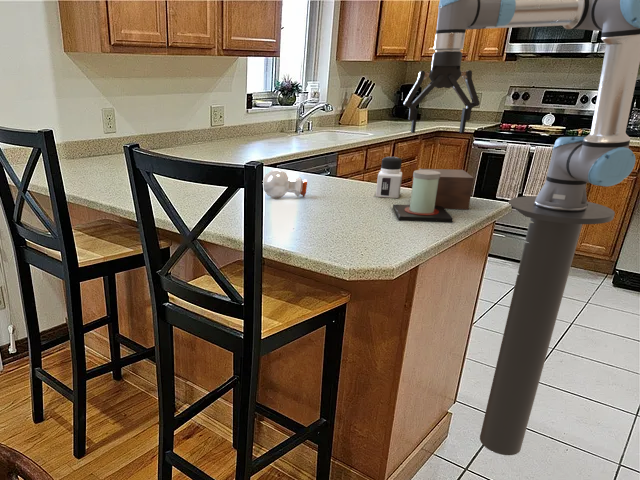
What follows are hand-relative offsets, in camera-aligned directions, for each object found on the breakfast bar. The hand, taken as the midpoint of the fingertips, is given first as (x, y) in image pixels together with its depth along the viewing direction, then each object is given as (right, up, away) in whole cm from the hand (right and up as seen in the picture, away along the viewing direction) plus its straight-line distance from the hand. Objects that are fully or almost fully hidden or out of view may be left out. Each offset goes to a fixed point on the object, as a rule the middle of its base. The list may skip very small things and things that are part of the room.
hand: (437, 132), depth 151 cm
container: (-5, -12, +33) cm, 35 cm away
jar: (-2, -21, +8) cm, 23 cm away
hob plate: (-2, -22, +8) cm, 24 cm away
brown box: (+9, -17, +22) cm, 29 cm away
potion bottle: (-42, -13, +30) cm, 53 cm away
